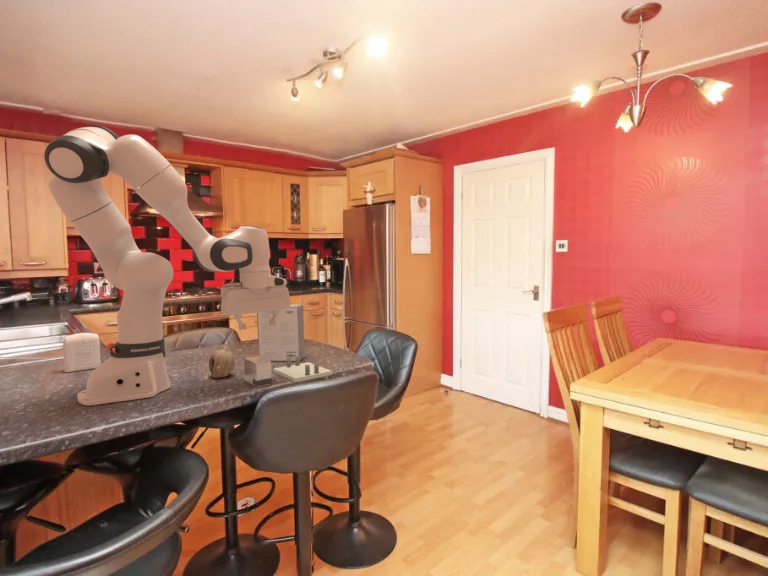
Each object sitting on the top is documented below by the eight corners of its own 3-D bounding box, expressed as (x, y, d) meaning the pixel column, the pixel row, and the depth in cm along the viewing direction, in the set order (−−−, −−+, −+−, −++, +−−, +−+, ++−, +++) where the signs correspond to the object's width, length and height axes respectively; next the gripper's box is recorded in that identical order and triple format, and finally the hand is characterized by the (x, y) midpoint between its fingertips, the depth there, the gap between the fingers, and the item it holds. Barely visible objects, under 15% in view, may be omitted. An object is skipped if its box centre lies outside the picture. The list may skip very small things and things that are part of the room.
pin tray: (295, 382, 130) (295, 368, 129) (273, 372, 141) (273, 359, 141) (332, 374, 138) (331, 361, 138) (308, 365, 149) (308, 353, 149)
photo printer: (99, 365, 151) (97, 330, 150) (102, 367, 148) (100, 332, 147) (63, 371, 143) (60, 334, 142) (65, 373, 140) (63, 336, 139)
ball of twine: (220, 380, 141) (220, 349, 143) (242, 377, 139) (242, 346, 141) (200, 378, 132) (201, 346, 135) (223, 376, 130) (224, 343, 133)
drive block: (257, 387, 125) (256, 364, 124) (244, 380, 132) (244, 358, 131) (271, 384, 128) (271, 361, 127) (259, 378, 135) (258, 355, 134)
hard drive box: (305, 357, 162) (304, 304, 161) (299, 362, 155) (298, 306, 153) (265, 356, 164) (264, 304, 162) (257, 361, 156) (256, 306, 155)
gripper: (224, 284, 119) (226, 333, 120) (291, 279, 132) (293, 324, 133) (216, 283, 124) (219, 330, 125) (282, 278, 136) (283, 321, 138)
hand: (257, 327), depth 129 cm, fingers open, 8 cm apart
